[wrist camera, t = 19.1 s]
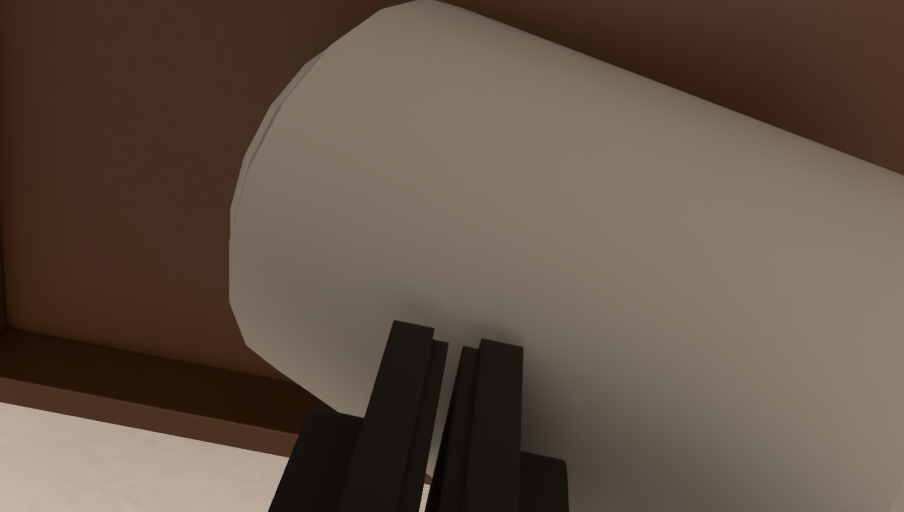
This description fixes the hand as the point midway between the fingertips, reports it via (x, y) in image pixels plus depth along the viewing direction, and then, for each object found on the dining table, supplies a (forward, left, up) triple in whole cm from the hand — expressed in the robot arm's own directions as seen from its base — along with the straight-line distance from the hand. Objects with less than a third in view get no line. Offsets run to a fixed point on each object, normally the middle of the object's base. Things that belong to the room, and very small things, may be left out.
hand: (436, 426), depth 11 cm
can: (-3, 0, -7) cm, 7 cm away
